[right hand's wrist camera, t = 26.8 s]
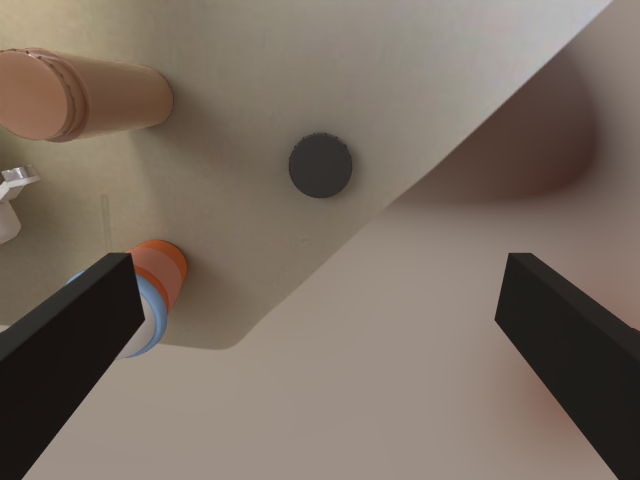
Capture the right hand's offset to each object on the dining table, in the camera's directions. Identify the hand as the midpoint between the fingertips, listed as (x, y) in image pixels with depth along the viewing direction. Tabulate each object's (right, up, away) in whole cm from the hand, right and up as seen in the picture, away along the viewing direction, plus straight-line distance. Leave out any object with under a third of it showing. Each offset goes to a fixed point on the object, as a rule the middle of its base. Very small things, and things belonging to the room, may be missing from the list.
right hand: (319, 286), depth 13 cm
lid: (0, +9, +23) cm, 24 cm away
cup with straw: (-18, -1, +28) cm, 34 cm away
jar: (-17, +15, +22) cm, 32 cm away
